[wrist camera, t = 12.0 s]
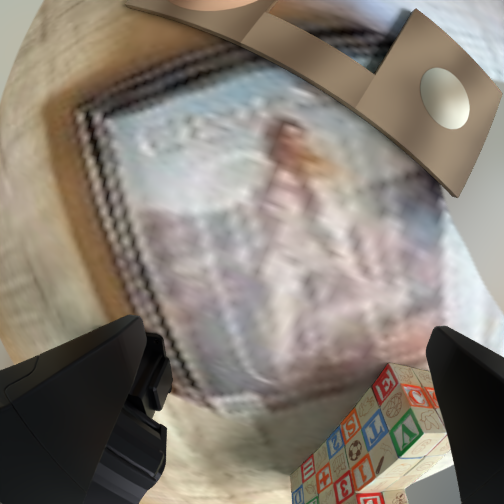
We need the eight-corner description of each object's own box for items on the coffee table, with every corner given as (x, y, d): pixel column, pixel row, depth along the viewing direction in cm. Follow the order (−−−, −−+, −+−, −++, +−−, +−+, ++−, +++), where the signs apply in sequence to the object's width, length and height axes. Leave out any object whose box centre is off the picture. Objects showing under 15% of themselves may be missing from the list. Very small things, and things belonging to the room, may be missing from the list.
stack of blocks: (386, 359, 23) (440, 462, 12) (430, 369, 24) (485, 454, 12) (289, 475, 29) (293, 553, 18) (330, 478, 30) (341, 550, 18)
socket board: (497, 94, 16) (502, 93, 15) (452, 196, 19) (458, 198, 18) (211, -76, 12) (210, -81, 11) (128, 7, 15) (124, 3, 14)
